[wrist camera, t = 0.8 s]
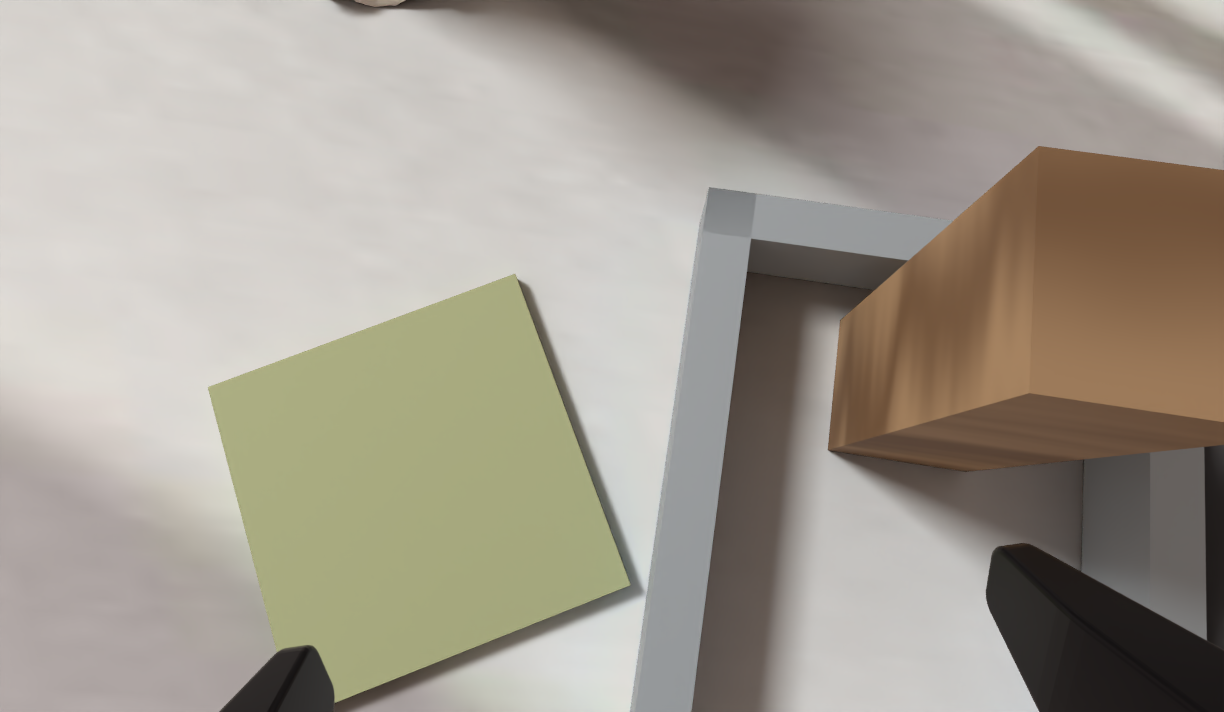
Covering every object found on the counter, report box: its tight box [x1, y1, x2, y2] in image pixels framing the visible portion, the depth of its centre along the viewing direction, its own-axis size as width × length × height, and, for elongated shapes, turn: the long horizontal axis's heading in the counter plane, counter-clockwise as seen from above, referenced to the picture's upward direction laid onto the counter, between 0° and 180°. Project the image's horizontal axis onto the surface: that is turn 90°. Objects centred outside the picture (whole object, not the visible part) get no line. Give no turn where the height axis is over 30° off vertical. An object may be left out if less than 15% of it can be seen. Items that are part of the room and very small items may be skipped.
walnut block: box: [828, 146, 1224, 472], centre depth 18 cm, size 4×4×12 cm
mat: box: [208, 274, 630, 703], centre depth 23 cm, size 11×11×1 cm
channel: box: [630, 187, 1207, 712], centre depth 21 cm, size 18×15×3 cm
